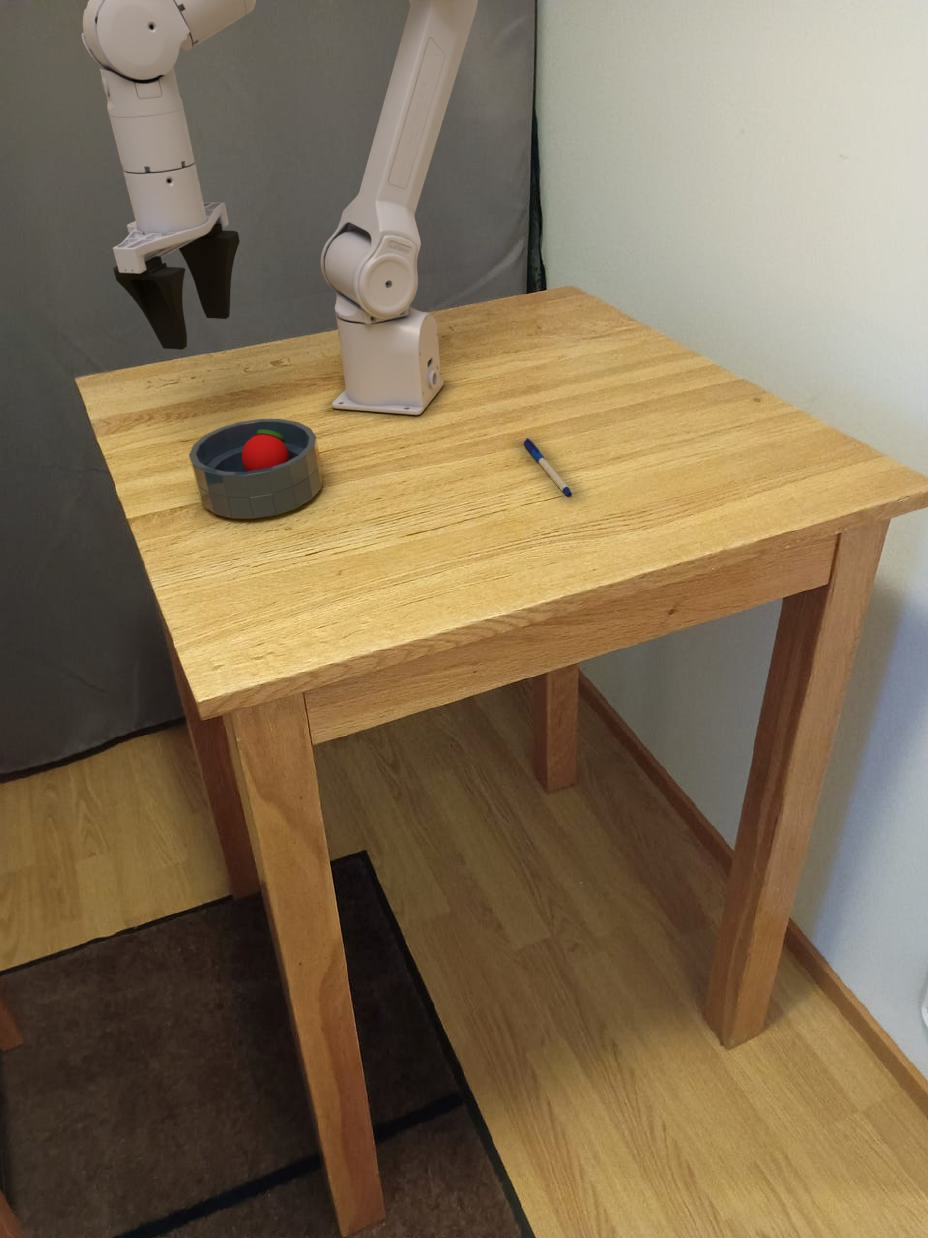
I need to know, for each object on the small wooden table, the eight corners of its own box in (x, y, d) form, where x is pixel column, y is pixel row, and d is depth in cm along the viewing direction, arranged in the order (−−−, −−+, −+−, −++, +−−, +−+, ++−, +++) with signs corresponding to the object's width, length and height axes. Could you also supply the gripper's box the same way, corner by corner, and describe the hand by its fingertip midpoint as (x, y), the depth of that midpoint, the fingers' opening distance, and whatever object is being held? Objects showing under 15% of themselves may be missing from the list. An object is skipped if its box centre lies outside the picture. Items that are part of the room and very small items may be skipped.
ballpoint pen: (520, 446, 85) (520, 436, 84) (529, 444, 85) (529, 434, 84) (566, 499, 77) (566, 488, 76) (576, 497, 77) (576, 486, 76)
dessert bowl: (342, 469, 82) (335, 423, 80) (291, 530, 75) (281, 481, 72) (238, 459, 85) (228, 414, 83) (178, 517, 77) (165, 468, 75)
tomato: (290, 490, 81) (301, 446, 81) (271, 473, 77) (282, 427, 78) (249, 485, 82) (260, 441, 82) (228, 468, 78) (239, 423, 79)
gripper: (164, 147, 81) (199, 303, 89) (61, 186, 70) (112, 359, 78) (235, 147, 79) (264, 306, 87) (142, 187, 68) (185, 364, 77)
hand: (197, 331), depth 83 cm, fingers open, 7 cm apart
